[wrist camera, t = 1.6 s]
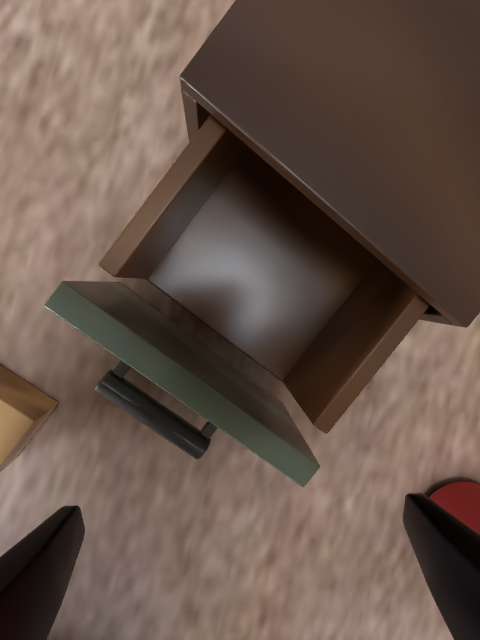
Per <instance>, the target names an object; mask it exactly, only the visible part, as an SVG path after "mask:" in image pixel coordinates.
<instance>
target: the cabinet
mask: <svg viewBox="0 0 480 640" xmlns="http://www.w3.org/2000/svg"><path fill="white" fill-rule="evenodd" d="M180 83H181V92H182V98H183V105H184V111H185V117H186V124H187V130H188V136H189V143H190V141H191V140H192V139H193V137H194V136H195V135H196V133H197V132H198V131H199V129H200V128H201V127H202V125H203V124H204V123H205V121H206V120H207V119H208V117H209V116H210V115H211V114H212V115H213V116H214V117H215V118H216V119H217V120H219V121H220V122H221V123H222V124H223V125H224V126H226V127H227V128H228V129H229V130H230V131H231V132H232V133H234V134H235V135H236V136H237V137H238V138H239V139H240V140H242V141H243V142H244V143H245V144H246V145H247V146H249V147H250V148H251V149H252V150H253V151H254V152H255V153H257V154H258V155H259V156H260V157H261V158H262V159H264V160H265V161H266V162H267V163H268V164H269V165H270V166H272V167H273V168H274V169H275V170H276V171H277V172H278V173H280V174H281V175H282V176H283V177H284V178H285V179H287V180H288V181H289V182H290V183H291V184H292V185H293V186H295V187H296V188H297V189H298V190H299V191H300V192H301V193H303V194H304V195H305V196H306V197H307V198H308V199H310V200H311V201H312V202H313V203H314V204H315V205H316V206H318V207H319V208H320V209H321V210H322V211H323V212H325V213H326V214H327V215H328V216H329V217H330V218H331V219H333V220H334V221H335V222H336V223H337V224H338V225H339V226H341V227H342V228H343V229H344V230H345V231H346V232H348V233H349V234H350V235H351V236H352V237H353V238H354V239H356V240H357V241H358V242H359V243H360V244H361V245H362V246H364V247H365V248H366V249H367V250H368V251H369V252H371V253H372V254H373V255H374V256H375V257H376V258H377V259H379V260H380V261H381V262H382V263H383V264H384V265H386V266H387V267H388V268H389V269H390V270H391V271H392V272H394V273H395V274H396V275H397V276H398V277H399V278H400V279H402V280H403V281H404V282H405V283H406V284H407V285H409V286H410V287H411V288H412V289H413V290H414V291H415V292H417V293H418V294H419V295H420V296H421V297H422V298H424V299H425V300H426V301H427V302H428V303H429V304H430V306H429V307H428V308H427V310H426V311H425V312H424V313H423V315H422V316H421V317H420V318H419V320H425V321H431V322H437V323H442V324H448V325H455V326H460V327H468V326H469V325H470V324H471V323H472V321H473V320H474V319H475V318H476V316H477V315H478V314H479V313H480V0H236V1H235V2H234V3H233V5H232V6H231V7H230V9H229V10H228V11H227V13H226V14H225V16H224V17H223V18H222V20H221V21H220V22H219V24H218V25H217V26H216V28H215V29H214V30H213V32H212V33H211V34H210V36H209V37H208V38H207V40H206V41H205V42H204V44H203V45H202V46H201V48H200V49H199V51H198V52H197V53H196V55H195V56H194V57H193V59H192V60H191V61H190V63H189V64H188V65H187V67H186V68H185V69H184V71H183V72H182V73H181V75H180Z"/></svg>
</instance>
